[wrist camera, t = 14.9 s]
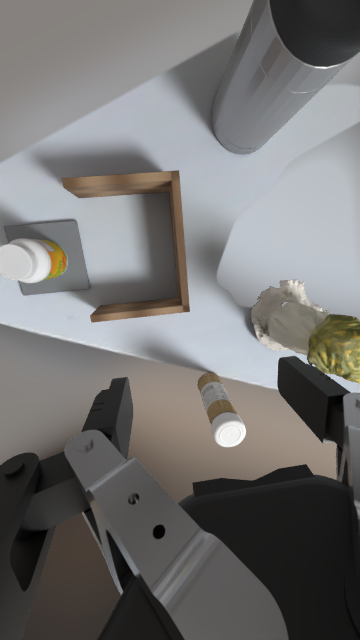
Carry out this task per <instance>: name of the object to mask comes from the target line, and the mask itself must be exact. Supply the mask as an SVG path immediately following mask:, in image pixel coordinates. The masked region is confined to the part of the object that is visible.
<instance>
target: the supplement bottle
mask: <svg viewBox="0 0 360 640" xmlns="http://www.w3.org/2000/svg"><path fill="white" fill-rule="evenodd" d="M67 266H68V257H67V254H66V252H65V251H64V249H63V248H62V247H61V246H60V245H58V244H57V243H55V242H52V241H47V240H36V239H25V238H23V239H16V240H13V241H11V242H10V243H8V244H5V245H2V246H1V247H0V274H1V275H3V276H4V277H6V278H8V279H11V280H18V281H21V282H24V283H36V282H40V281H44V280H47V279H51V278H55V277H58V276H60V275H62V274H63V273H64V272H65V271H66V269H67Z"/></svg>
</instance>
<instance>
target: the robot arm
mask: <svg viewBox="0 0 360 640" xmlns="http://www.w3.org/2000/svg"><path fill="white" fill-rule="evenodd" d="M359 52H360V0H254V1H253V3H252V6H251V8H250V11H249V13H248V16H247V18H246V21H245V23H244V26H243V28H242V31H241V34H240V36H239V39H238V41H237V44H236V46H235V49H234V51H233V54H232V56H231V59H230V61H229V64H228V66H227V69H226V72H225V74H224V76H223V79H222V81H221V84H220V86H219V89H218V92H217V94H216V97H215V100H214V102H213V107H212V125H213V129H214V132H215V135H216V137H217V139H218V140H219V142H220V143H221V144H222V145H223V146H224V147H225V148H226V149H227V150H229V151H231V152H233V153H236V154H249V153H252V152H254V151H256V150H258V149H259V148H261V147H262V146H263V145H264V144H265V143H266V142H267V141H268V140H269V139H270V138H271V137H272V136H273V135H274V134H275V133H276V132H277V131H278V130H280V129H281V128H282V127H283V126H284V125H285V124H286V123H287V122H288V121H289V120H290V119H291V118H292V117H293V116H294V115H295V114H296V113H297V112H298V111H299V110H300V109H301V108H302V107H303V106H304V105H305V104H306V103H307V102H309V101H310V100H311V99H312V98H313V97H314V96H315V95H316V94H317V93H318V92H319V91H320V90H321V89H322V88H323V87H324V86H325V85H326V84H327V83H328V82H329V81H330V80H331V79H332V78H333V77H334V76H335V75H336V74H337V73H338V72H339V71H340V70H341V69H342V68H343V67H344V66H345V65H347V64H348V63H349V62H350V60H352V59H353V58H354V57H355V56H356V55H357V54H358V53H359ZM278 389H279V392H280V394H281V396H282V397H283V398H284V399H285V400H286V401H287V403H288V404H289V405H290V406H291V407H292V408H293V410H294V411H295V412H296V413H297V414H298V415H299V416H300V418H301V419H302V420H303V421H304V422H305V423H306V424H307V426H308V427H309V428H310V429H311V430H312V432H313V433H314V434H315V435H316V436H317V437H318V438H319V440H320V441H321V442H322V443H323V444H324V443H330V442H335V443H336V444H337V448H336V475H337V476H336V480H334V479H332V478H328V477H324V476H320V475H313V473H312V472H311V471H310V469H309V468H308V466H307V465H306V464H305V465H299V466H293V467H287V468H281V469H277V470H275V471H273V472H271V473H269V474H267V475H265V476H263V477H261V478H258V479H256V480H253V481H249V480H237V479H226V478H220V479H214V480H207V481H201V482H194V483H193V493H194V494H192V495H190V496H188V497H186V498H185V499H183V500H182V501H180V502H179V503H177V502H176V501H175V500H174V499H173V498H172V497H171V496H170V495H169V494H168V493H167V492H166V491H165V490H164V489H163V488H162V486H161V485H160V484H159V483H158V482H157V481H156V480H155V479H154V478H153V477H152V476H151V475H150V474H149V472H148V471H147V470H146V469H145V468H144V467H143V466H142V465H141V464H140V463H139V462H138V461H137V460H136V459H135V458H133V457H131V458H130V459H128V460H127V456H128V448H129V441H130V434H131V427H132V419H133V403H132V398H131V391H130V386H129V380H128V377H123V378H116V379H112V381H111V385H110V388H109V389H107V390H102V391H101V392H100V393H99V394H98V395H97V396H96V397H95V400H94V402H93V406H92V407H91V410H90V412H89V414H88V417H87V419H86V422H85V424H84V427H83V429H82V432H81V433H79V434H77V435H76V436H74V437H73V438H72V439H71V440H70V441H69V442H68V443H67V445H66V447H65V450H64V451H63V452H62V453H59V454H57V455H54V456H52V457H49V458H47V459H44V460H41V461H39V458H38V456H37V455H36V454H34V453H23V454H19V455H17V456H14V457H12V458H11V459H9V460H7V461H6V462H4V463H3V464H2V465H0V640H22V637H23V633H24V630H25V627H26V624H27V620H28V617H29V613H30V610H31V607H32V603H33V600H34V597H35V594H36V591H37V587H38V584H39V581H40V578H41V574H42V571H43V568H44V564H45V561H46V558H47V554H48V551H49V548H50V545H51V541H52V538H53V535H54V532H55V528H56V525H57V524H59V523H61V522H63V521H64V520H67V519H69V518H71V517H73V516H75V515H77V514H79V513H81V512H82V514H83V516H84V518H85V520H86V522H87V523H88V526H89V527H90V529H91V531H92V533H93V535H94V537H95V539H96V541H97V543H98V545H99V547H100V549H101V551H102V553H103V555H104V557H105V560H106V562H107V565H108V567H109V570H110V572H111V575H112V577H113V579H114V581H115V584H116V586H117V588H118V590H119V592H120V594H121V597H120V599H119V600H118V602H117V604H116V606H115V607H114V609H113V611H112V613H111V615H110V616H109V618H108V620H107V622H106V623H105V625H104V627H103V629H102V631H101V633H100V634H99V636H98V638H97V639H96V640H360V393H351V392H349V391H348V390H346V389H345V388H344V387H342V386H341V385H340V384H338V383H337V382H335V381H334V380H333V379H331V378H330V377H329V376H327V375H325V374H324V373H323V372H322V371H320V370H319V369H318V368H316V367H313V366H311V365H309V364H305V363H304V362H303V361H301V360H300V359H299V358H297V357H296V356H290V357H282V358H280V359H279V362H278Z"/></svg>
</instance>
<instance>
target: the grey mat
mask: <svg viewBox="0 0 360 640" xmlns="http://www.w3.org/2000/svg"><path fill="white" fill-rule="evenodd" d="M4 229H5V232H6V236H7V239H8V243H10V242H11V241H13V240H16V239H23V238H25V239H36V240H47V241H52V242H55V243H57V244H58V245H60V246H61V247H62V248H63V249H64V251H65V252H66V254H67V257H68V266H67V269H66V271H65V272H64V273H63V274H62V275H60V276H58V277H55V278H51V279H47V280H44V281H40V282H36V283H24V282H21V281H20V285H21V288H22V292H23V295H34V294H44V293H54V292H64V291H74V290H84V289H90V285H89V280H88V275H87V270H86V265H85V260H84V255H83V250H82V245H81V240H80V235H79V230H78V225H77V221H67V222H55V223H42V224H30V225H17V226H5V227H4Z"/></svg>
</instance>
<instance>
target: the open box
mask: <svg viewBox="0 0 360 640" xmlns="http://www.w3.org/2000/svg"><path fill="white" fill-rule="evenodd" d="M62 181H63V186H64V188H65V189H66V190H68V191H69V192H71V193H72V194H74V195H75V196H77V197H78V198H89V197H103V196H117V195H131V194H144V193H158V192H169V198H170V209H171V220H172V231H173V242H174V254H175V265H176V276H177V287H178V298H170V299H161V300H151V301H142V302H132V303H123V304H113V305H104V306H99V307H98V308H97V309H96V310H95V311H94V312H93V313H92V314H91V315H90V317H91V322H101V321H110V320H119V319H128V318H137V317H146V316H155V315H164V314H173V313H182V312H190V308H189V295H188V282H187V269H186V256H185V243H184V230H183V217H182V204H181V191H180V177H179V171H165V172H150V173H135V174H120V175H105V176H90V177H75V178H62Z"/></svg>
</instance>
